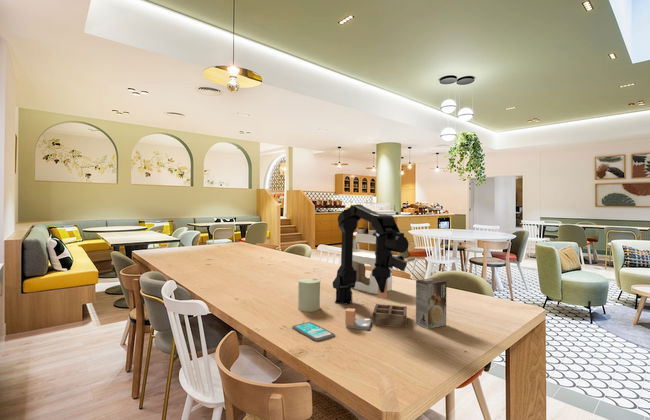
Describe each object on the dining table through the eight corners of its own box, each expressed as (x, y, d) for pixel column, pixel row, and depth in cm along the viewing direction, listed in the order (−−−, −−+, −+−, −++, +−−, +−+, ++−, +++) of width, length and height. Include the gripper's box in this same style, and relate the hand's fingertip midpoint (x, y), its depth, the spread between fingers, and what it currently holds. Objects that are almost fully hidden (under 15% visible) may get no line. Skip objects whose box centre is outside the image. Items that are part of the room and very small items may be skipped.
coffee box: (433, 319, 124) (434, 277, 124) (446, 325, 119) (447, 281, 118) (414, 323, 120) (415, 279, 120) (427, 329, 114) (428, 283, 114)
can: (324, 308, 136) (325, 279, 136) (308, 313, 130) (309, 283, 130) (309, 303, 143) (309, 275, 143) (293, 307, 136) (293, 279, 136)
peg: (378, 297, 120) (378, 275, 120) (379, 295, 123) (379, 274, 123) (386, 298, 119) (387, 276, 119) (387, 296, 122) (387, 274, 122)
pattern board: (345, 327, 115) (345, 310, 115) (349, 319, 123) (349, 303, 123) (368, 330, 113) (369, 313, 113) (371, 322, 121) (371, 305, 121)
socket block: (372, 324, 119) (372, 313, 119) (375, 313, 130) (376, 303, 130) (406, 327, 116) (406, 316, 116) (406, 316, 127) (406, 306, 127)
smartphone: (316, 340, 102) (290, 325, 114) (316, 343, 102) (290, 328, 114) (337, 334, 107) (310, 320, 119) (337, 337, 107) (310, 323, 119)
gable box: (392, 290, 168) (393, 235, 167) (376, 294, 158) (377, 236, 158) (359, 282, 184) (360, 232, 183) (343, 285, 175) (343, 233, 174)
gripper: (405, 254, 110) (404, 300, 110) (406, 247, 128) (405, 287, 128) (372, 252, 112) (371, 297, 113) (377, 245, 130) (376, 284, 131)
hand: (382, 291), depth 121 cm, fingers closed on peg, 3 cm apart
